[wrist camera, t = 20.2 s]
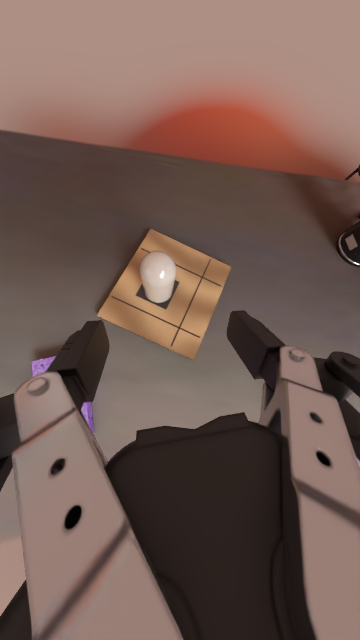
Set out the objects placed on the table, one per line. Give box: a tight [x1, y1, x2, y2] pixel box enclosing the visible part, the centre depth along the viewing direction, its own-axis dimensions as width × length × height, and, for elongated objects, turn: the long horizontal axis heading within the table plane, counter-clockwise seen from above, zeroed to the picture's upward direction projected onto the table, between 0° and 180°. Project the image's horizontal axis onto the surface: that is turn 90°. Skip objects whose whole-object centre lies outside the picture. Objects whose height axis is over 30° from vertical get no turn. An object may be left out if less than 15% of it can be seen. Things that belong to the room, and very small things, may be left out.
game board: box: [97, 229, 231, 360], centre depth 30 cm, size 20×18×2 cm
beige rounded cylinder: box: [139, 251, 176, 303], centre depth 24 cm, size 5×5×9 cm
